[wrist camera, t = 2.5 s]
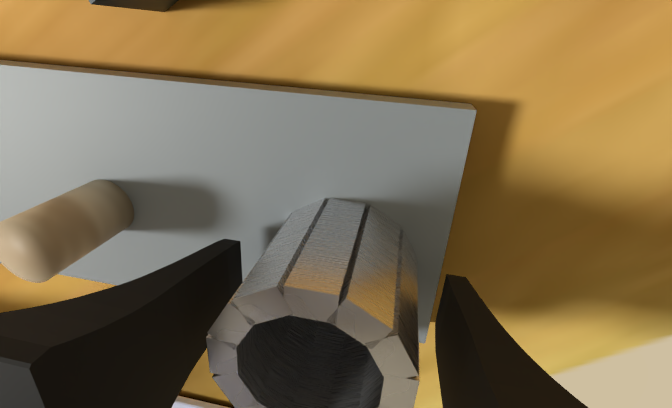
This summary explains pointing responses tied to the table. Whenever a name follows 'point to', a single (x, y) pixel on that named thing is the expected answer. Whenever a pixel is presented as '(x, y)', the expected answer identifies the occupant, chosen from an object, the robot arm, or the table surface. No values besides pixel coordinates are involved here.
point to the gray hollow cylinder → (323, 316)
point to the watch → (138, 4)
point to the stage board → (226, 161)
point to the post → (63, 230)
